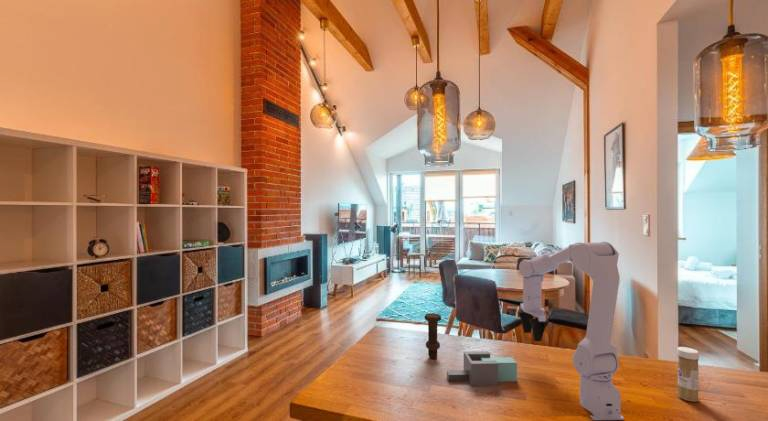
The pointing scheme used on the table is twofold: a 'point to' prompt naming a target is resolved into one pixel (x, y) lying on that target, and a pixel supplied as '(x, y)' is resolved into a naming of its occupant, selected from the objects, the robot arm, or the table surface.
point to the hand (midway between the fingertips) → (532, 336)
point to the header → (476, 370)
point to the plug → (504, 367)
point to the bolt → (432, 334)
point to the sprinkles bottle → (688, 373)
